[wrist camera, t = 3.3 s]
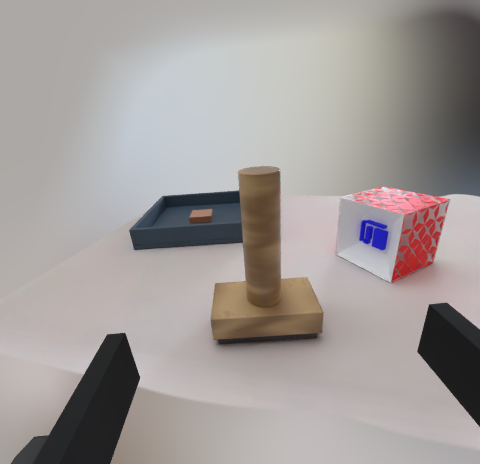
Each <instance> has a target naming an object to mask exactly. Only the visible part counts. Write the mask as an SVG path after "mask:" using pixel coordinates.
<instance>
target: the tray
mask: <svg viewBox="0 0 480 464" xmlns="http://www.w3.org/2000/svg"><path fill="white" fill-rule="evenodd" d="M205 209H213V218H212V222H204V223H190V221H189V216H190V214H191V212H192V210H205ZM129 231H130V235H131V239H132V243H133V247H134V249H149V248H164V247H178V246H193V245H208V244H223V243H237V242H243V236H242V222H241V208H240V194H239V191H228V192H215V193H199V194H185V195H171V196H162V197H161V198H160V199H159V200H158V201H157V202H156V203H155V204H154V205H153V206H152V207H151V208H150V209H149V210H148V211H147V212H146V214H145V215H144V216H143V217H142V218H141V219H140V220H139V221H138V222H137V223H136V224H135V225H134V226H133V227H132V228H131V229H130V230H129Z"/></svg>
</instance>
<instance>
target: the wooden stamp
mask: <svg viewBox="0 0 480 464" xmlns="http://www.w3.org/2000/svg"><path fill="white" fill-rule="evenodd" d="M238 179H239V194H240V208H241V222H242V236H243V250H244V264H245V278H246V281H244V282H229V283H216V284H215V289H214V298H213V306H212V314H211V325H212V332H213V338H214V340H216V339H218V343H219V344H222V343H237V342H253V341H269V340H284V339H300V338H316V337H317V333H322V324H323V310H322V308H321V306H320V304H319V302H318V299H317V297H316V295H315V293H314V291H313V289H312V286H311V284H310V282H309V280H308V278H307V277H304V278H289V279H281V206H280V169H279V168H277V167H269V166H261V167H250V168H245V169H242V170H239V171H238Z"/></svg>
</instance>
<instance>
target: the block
mask: <svg viewBox="0 0 480 464" xmlns="http://www.w3.org/2000/svg"><path fill="white" fill-rule="evenodd" d="M212 218H213V209H205V210H192V212H191V214H190V216H189V221H190V223H204V222H212Z"/></svg>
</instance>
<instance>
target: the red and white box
mask: <svg viewBox="0 0 480 464" xmlns="http://www.w3.org/2000/svg"><path fill="white" fill-rule="evenodd" d="M449 202H450V199H445V198H440V197H435V196H430V195H425V194H419V193H415V192H409V191H404V190H399V189H394V188H389V187H380V188H376V189H372V190H368V191H364V192H360V193H356V194H352V195H348V196H344V197H341V198H340V209H339V220H338V231H337V242H336V253H335V254H336V255H338V256H340V257H342V258H344V259H346V260H348V261H350V262H352V263H353V264H355V265H357V266H359V267H361V268H363V269H365V270H367V271H369V272H371V273H373V274H375V275H377V276H378V277H380V278H382V279H384V280H386V281H388V282H390V283H392V282H394V281H396V280H398V279H400V278H402V277H404V276H406V275H408V274H410V273H412V272H414V271H417V270H419V269H421V268H423V267H425V266H427V265H429V264H431V263H433V262H434V258H435V255H436V251H437V247H438V243H439V240H440V236H441V232H442V228H443V225H444V221H445V217H446V213H447V210H448V206H449Z"/></svg>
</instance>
